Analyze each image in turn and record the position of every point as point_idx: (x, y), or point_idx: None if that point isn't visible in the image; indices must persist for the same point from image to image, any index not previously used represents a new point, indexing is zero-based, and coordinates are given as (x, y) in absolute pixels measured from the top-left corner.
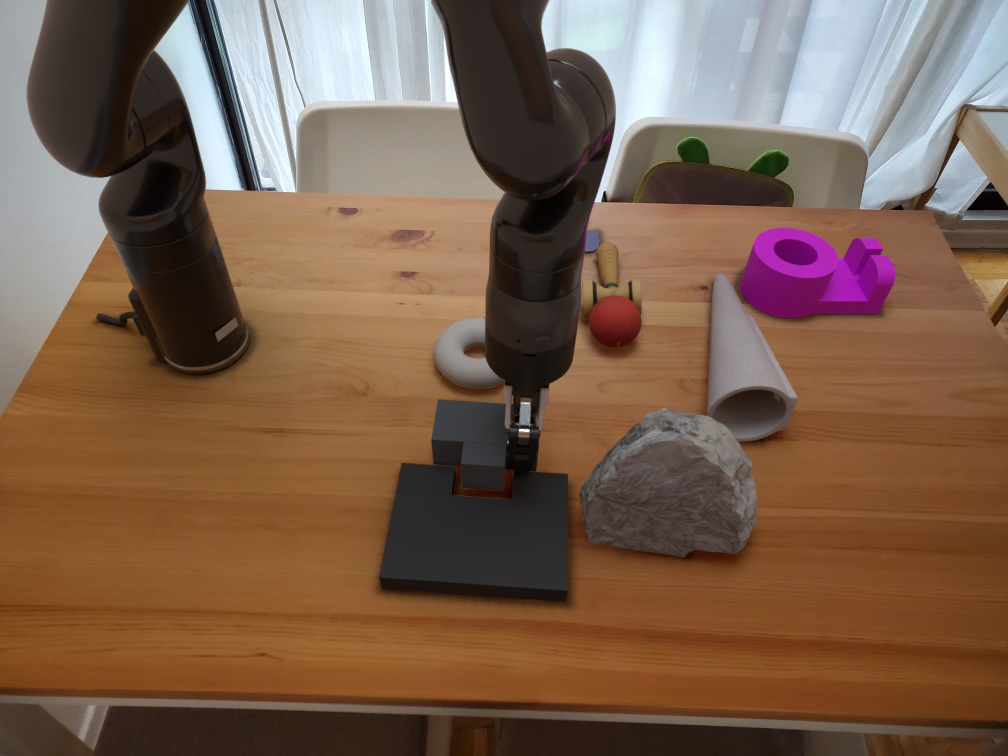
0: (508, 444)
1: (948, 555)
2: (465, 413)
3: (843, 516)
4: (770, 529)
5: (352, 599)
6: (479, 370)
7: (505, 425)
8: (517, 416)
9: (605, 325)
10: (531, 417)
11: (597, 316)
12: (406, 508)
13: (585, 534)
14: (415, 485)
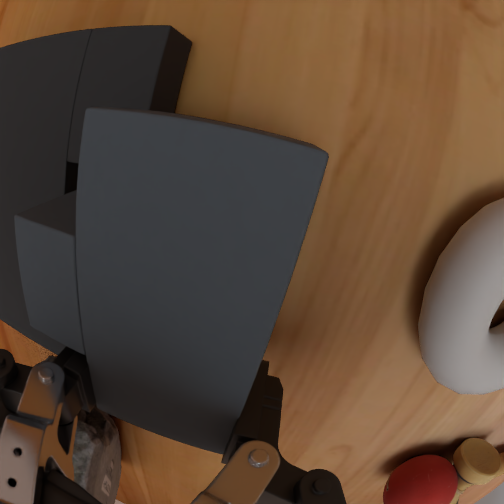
0: (38, 372)
1: (124, 498)
2: (205, 273)
3: (143, 492)
4: (122, 466)
5: (10, 23)
6: (460, 315)
7: (5, 420)
8: (50, 458)
9: (410, 500)
10: (62, 474)
11: (431, 496)
12: (52, 62)
13: (52, 359)
14: (96, 70)
